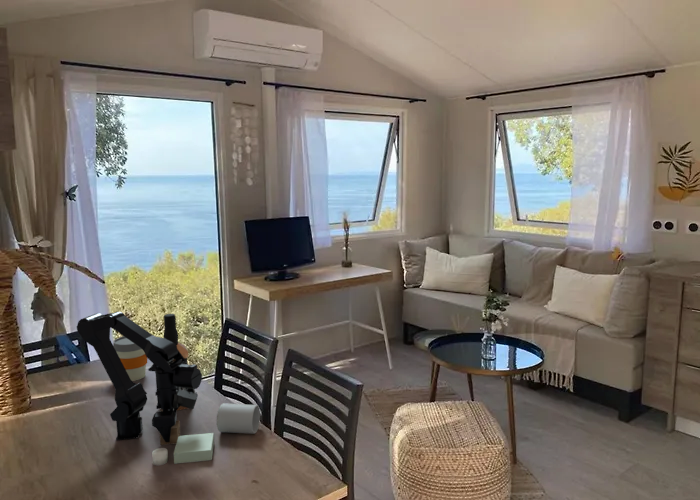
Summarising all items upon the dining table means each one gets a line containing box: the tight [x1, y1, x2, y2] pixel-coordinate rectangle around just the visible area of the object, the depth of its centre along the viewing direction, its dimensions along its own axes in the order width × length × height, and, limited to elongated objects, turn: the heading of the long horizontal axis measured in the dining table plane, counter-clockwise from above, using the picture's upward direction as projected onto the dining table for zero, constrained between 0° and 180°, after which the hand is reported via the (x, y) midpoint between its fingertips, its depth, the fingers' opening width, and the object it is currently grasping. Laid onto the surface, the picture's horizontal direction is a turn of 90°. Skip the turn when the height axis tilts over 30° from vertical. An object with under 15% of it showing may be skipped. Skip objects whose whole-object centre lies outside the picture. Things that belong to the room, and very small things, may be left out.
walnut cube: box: [159, 419, 181, 446], centre depth 165 cm, size 5×5×5 cm
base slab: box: [173, 432, 215, 465], centre depth 158 cm, size 10×10×3 cm
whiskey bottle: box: [160, 313, 189, 412], centre depth 187 cm, size 10×10×32 cm
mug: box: [216, 402, 261, 435], centre depth 171 cm, size 12×8×11 cm
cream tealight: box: [151, 447, 169, 466], centre depth 153 cm, size 4×4×3 cm
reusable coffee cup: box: [112, 335, 148, 382], centre depth 214 cm, size 13×12×15 cm
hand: (170, 434), depth 165 cm, fingers open, 9 cm apart
